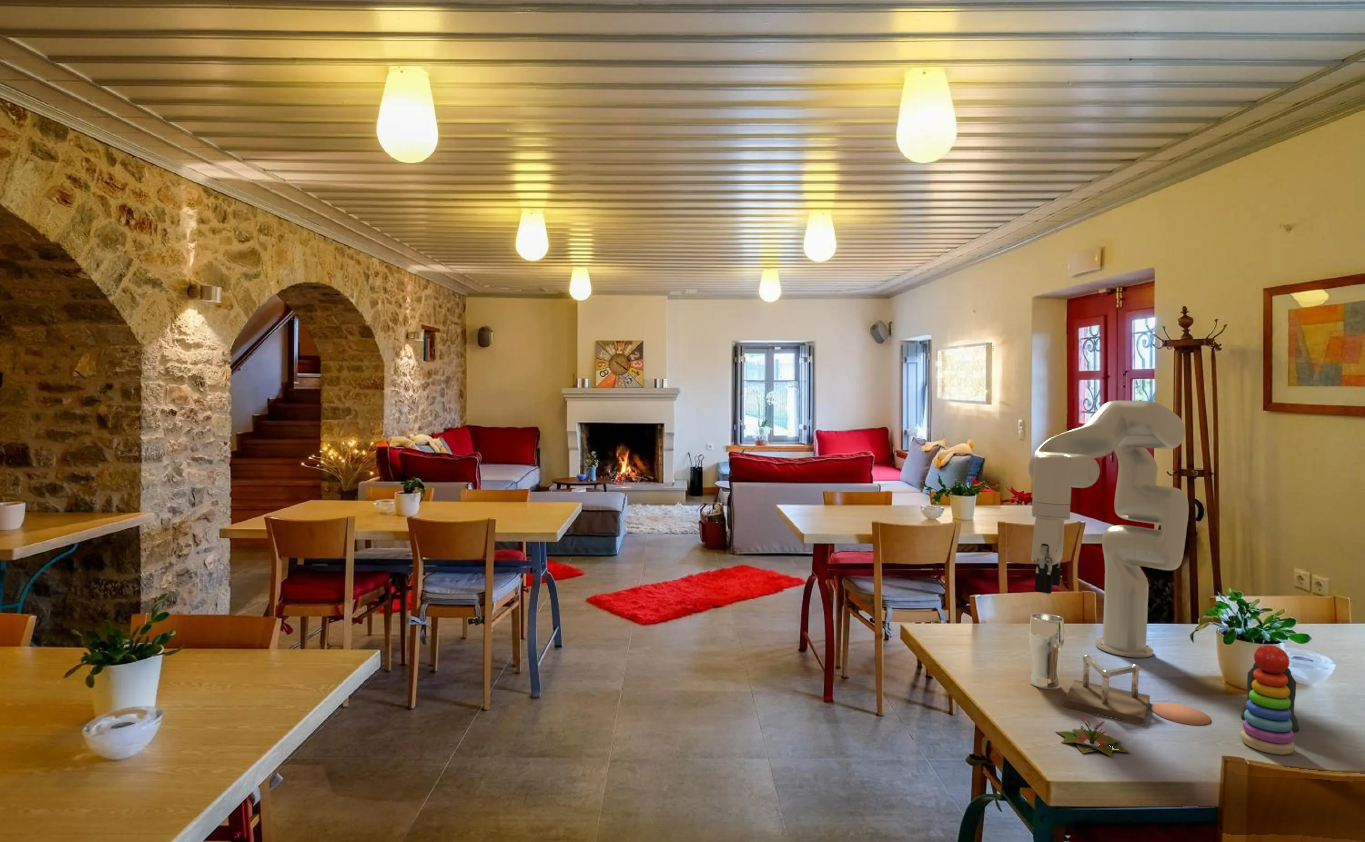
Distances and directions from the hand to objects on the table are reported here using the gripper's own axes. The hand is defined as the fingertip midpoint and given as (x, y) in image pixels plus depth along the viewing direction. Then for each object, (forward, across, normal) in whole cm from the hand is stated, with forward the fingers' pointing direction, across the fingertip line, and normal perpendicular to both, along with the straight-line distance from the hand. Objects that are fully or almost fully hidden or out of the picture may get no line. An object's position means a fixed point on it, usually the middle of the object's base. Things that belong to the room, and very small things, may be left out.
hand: (1047, 588), depth 165 cm
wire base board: (+21, +2, +13) cm, 25 cm away
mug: (+21, -9, +40) cm, 46 cm away
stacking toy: (+22, +6, +39) cm, 45 cm away
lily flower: (+22, +25, +13) cm, 36 cm away
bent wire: (+20, +3, +13) cm, 24 cm away
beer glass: (+22, -1, 0) cm, 22 cm away
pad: (+21, -1, +25) cm, 33 cm away
